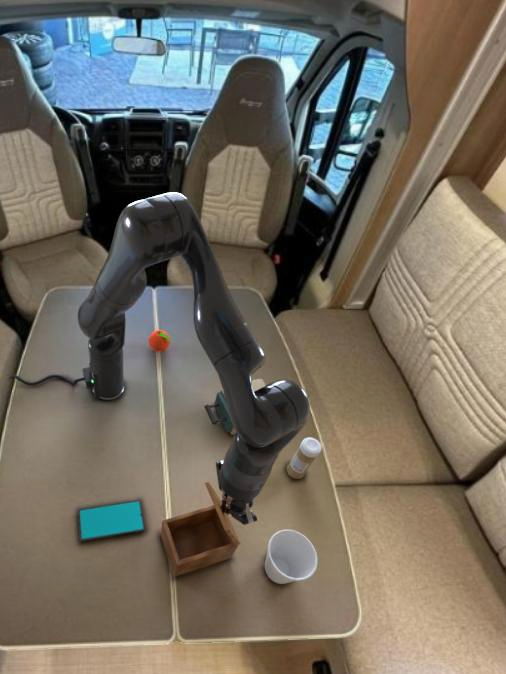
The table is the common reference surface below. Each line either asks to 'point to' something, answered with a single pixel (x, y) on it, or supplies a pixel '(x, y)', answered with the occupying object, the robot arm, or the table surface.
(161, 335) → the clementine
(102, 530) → the smartphone
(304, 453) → the sprinkles bottle
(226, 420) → the drawer
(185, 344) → the table surface
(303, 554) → the cup
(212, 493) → the chest lid
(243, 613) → the table surface
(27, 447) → the table surface
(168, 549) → the chest
